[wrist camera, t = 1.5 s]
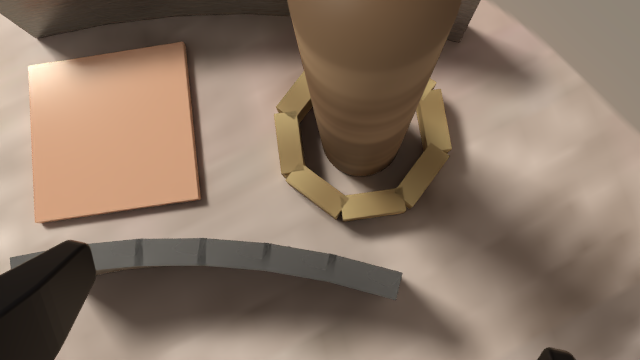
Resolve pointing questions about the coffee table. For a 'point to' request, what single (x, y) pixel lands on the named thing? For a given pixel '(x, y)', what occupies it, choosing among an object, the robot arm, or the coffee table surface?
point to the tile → (112, 133)
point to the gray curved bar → (148, 3)
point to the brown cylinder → (366, 97)
